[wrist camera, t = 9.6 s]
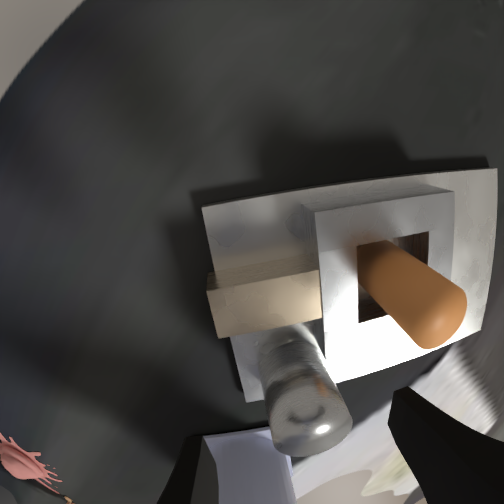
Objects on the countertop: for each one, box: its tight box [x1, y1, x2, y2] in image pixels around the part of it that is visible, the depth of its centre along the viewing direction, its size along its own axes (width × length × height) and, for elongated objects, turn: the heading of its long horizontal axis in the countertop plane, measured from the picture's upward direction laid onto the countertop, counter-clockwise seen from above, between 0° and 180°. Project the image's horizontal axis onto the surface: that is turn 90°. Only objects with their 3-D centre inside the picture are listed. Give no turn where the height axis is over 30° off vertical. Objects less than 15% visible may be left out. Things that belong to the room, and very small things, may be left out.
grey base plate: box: [202, 167, 497, 457], centre depth 16 cm, size 14×21×7 cm, turn 99°
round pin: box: [357, 240, 467, 350], centre depth 15 cm, size 3×3×7 cm
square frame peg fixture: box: [206, 185, 455, 360], centre depth 17 cm, size 9×14×2 cm, turn 99°
